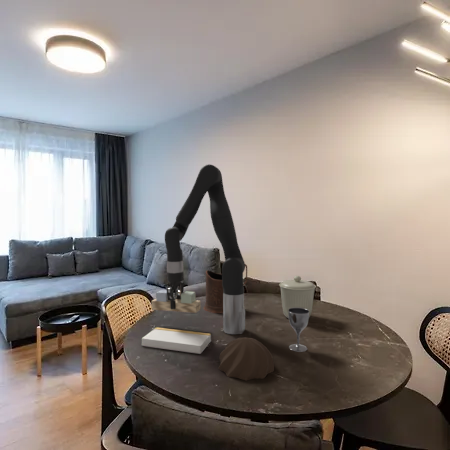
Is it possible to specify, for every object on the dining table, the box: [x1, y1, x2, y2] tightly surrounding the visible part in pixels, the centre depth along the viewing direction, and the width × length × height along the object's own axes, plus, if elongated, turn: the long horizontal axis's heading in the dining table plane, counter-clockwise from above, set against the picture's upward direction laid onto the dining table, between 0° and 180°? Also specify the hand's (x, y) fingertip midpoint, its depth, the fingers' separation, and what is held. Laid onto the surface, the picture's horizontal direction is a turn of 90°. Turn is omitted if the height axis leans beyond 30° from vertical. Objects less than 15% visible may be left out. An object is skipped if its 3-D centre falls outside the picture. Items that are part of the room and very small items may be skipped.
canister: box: [278, 275, 317, 319], centre depth 165 cm, size 18×18×21 cm
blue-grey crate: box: [155, 289, 168, 302], centre depth 152 cm, size 5×5×4 cm
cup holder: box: [203, 263, 248, 314], centre depth 179 cm, size 18×24×25 cm
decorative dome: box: [218, 336, 275, 381], centre depth 114 cm, size 19×20×10 cm
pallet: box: [151, 298, 202, 314], centre depth 151 cm, size 22×6×4 cm, turn 74°
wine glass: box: [288, 307, 310, 353], centre depth 129 cm, size 8×8×15 cm
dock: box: [141, 327, 212, 355], centre depth 133 cm, size 25×12×3 cm, turn 74°
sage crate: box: [181, 290, 196, 304], centre depth 149 cm, size 5×5×4 cm
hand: (176, 306), depth 151 cm, fingers closed on pallet, 5 cm apart
